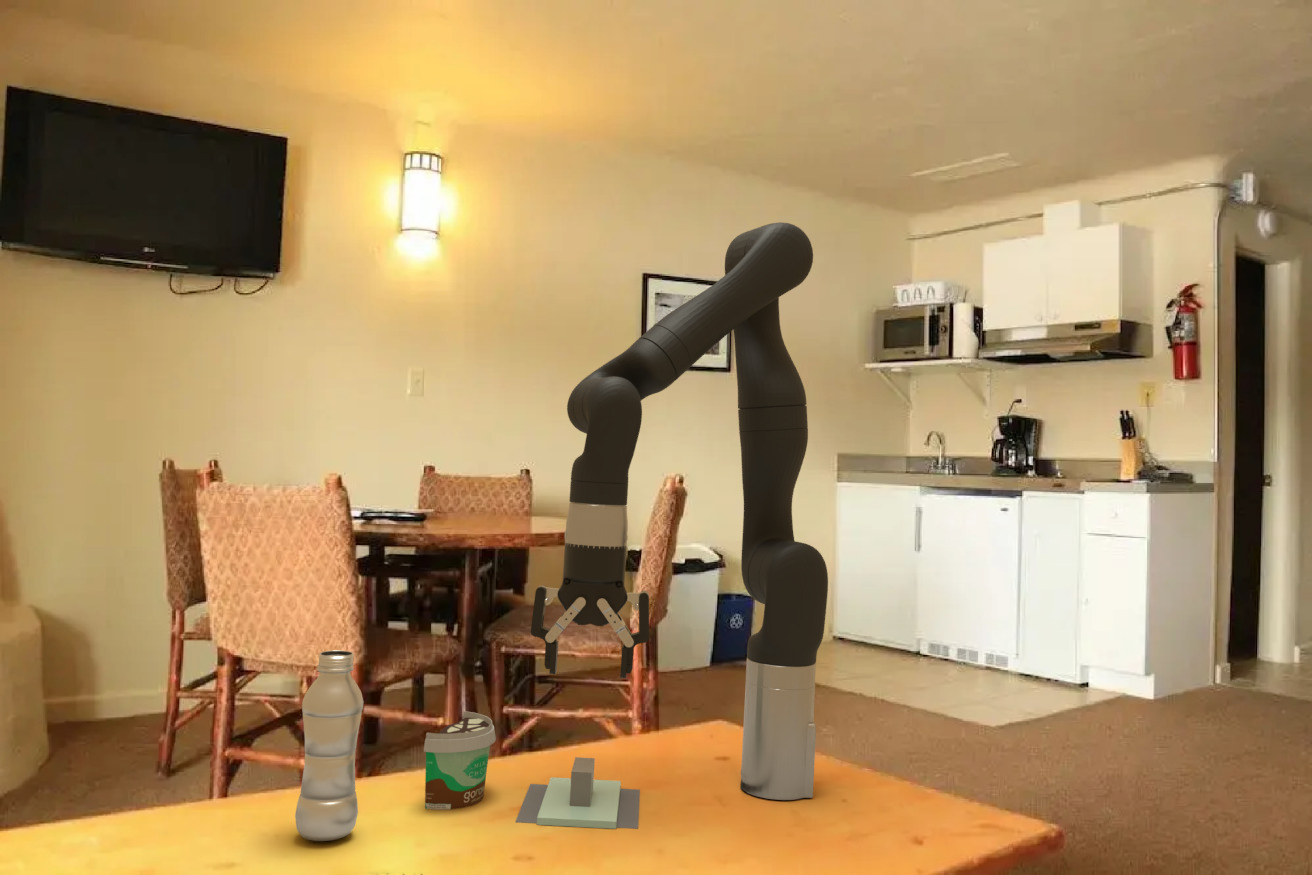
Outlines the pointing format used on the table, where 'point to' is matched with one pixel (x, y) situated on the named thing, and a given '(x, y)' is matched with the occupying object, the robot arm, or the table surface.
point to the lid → (580, 799)
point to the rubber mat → (626, 808)
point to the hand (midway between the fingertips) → (587, 674)
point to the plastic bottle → (330, 750)
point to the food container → (458, 762)
